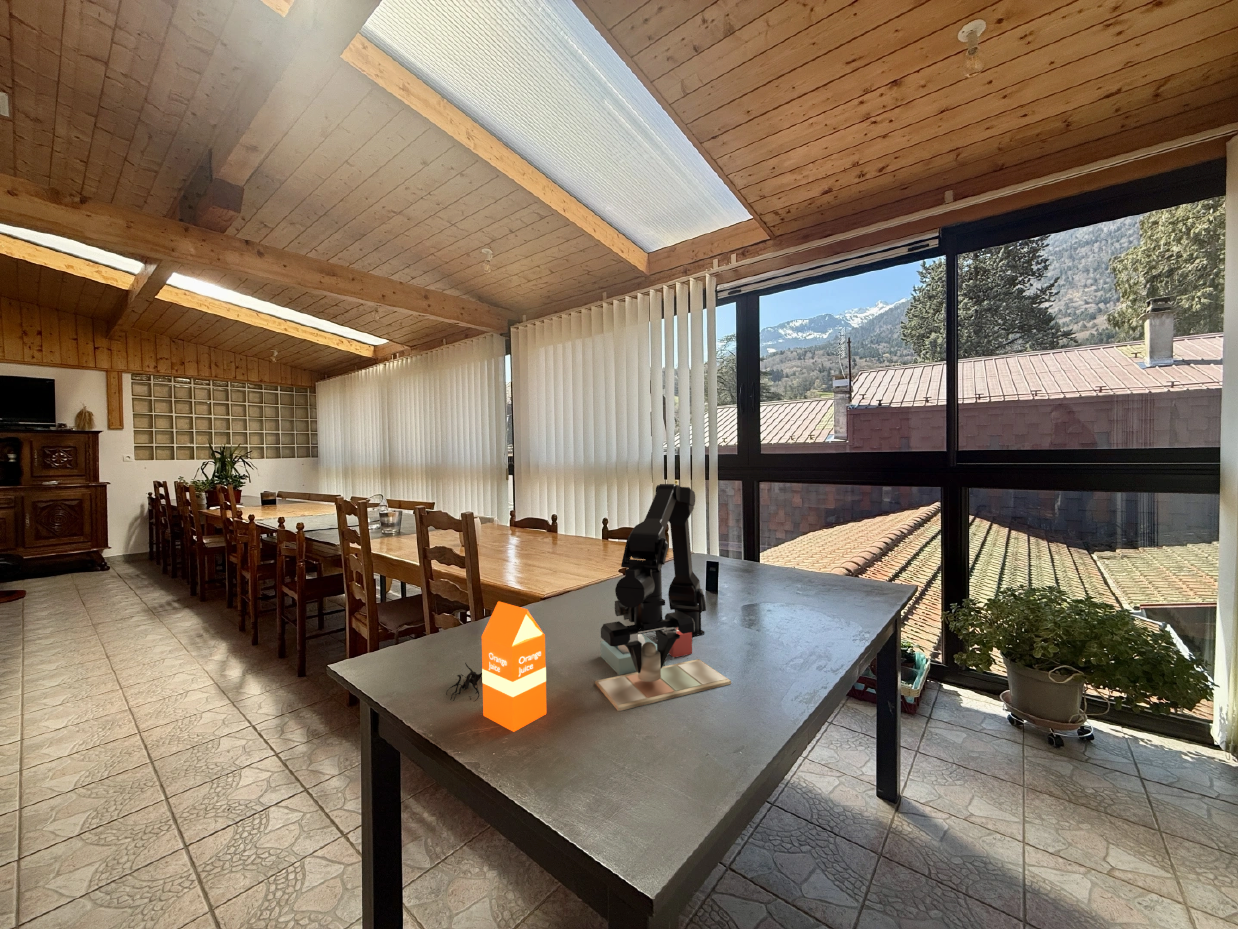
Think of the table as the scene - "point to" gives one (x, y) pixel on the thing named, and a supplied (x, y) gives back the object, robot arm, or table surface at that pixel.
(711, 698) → the table surface
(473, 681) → the creature
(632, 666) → the housing
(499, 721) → the orange juice
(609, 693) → the game board
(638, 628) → the robot arm
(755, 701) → the table surface
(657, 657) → the pawn
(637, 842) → the table surface
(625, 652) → the white ball
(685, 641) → the red die
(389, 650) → the table surface
